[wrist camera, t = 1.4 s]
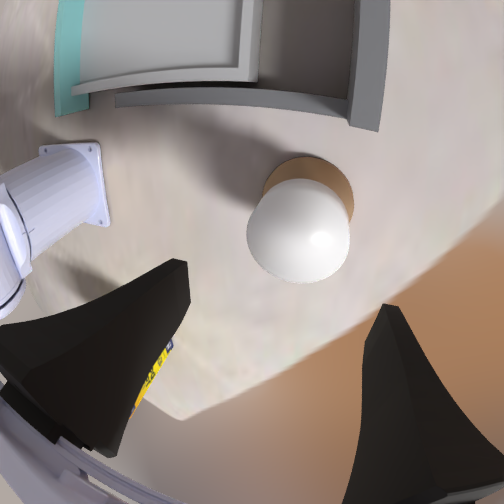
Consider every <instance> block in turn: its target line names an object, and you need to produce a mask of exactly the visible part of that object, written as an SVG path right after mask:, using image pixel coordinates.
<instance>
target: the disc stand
mask: <svg viewBox="0 0 504 504" xmlns="http://www.w3.org/2000/svg"><path fill="white" fill-rule="evenodd" d="M290 179H310V180H314V181H317V182H319V183H322V184H324V185H325V186H327V187H329V188H330V189H331V190H333V191H334V192H335V193H336V194H337V195H338V196H339V198H340V199H341V200H342V202H343V204H344V205H345V208H346V210H347V214H348V219H349V222H350V220H351V218H352V215H353V209H354V199H353V192H352V189H351V186H350V184H349V182H348V180H347V178H346V177H345V175H344V174H343V173H342V172H341V171H340V170H339V169H338V168H337V167H335V166H334V165H333V164H331V163H329V162H327V161H325V160H322V159H319V158H315V157H298V158H294V159H291V160H288V161H286V162H284V163H283V164H281V165H280V166H278V167H277V168H276V169H275V170H274V171H273V172H272V174H271V175H270V176H269V178H268V179H267V181H266V183H265V185H264V189H263V193H262V198H263V196H264V195H265V194H266V193H267V192H268V191H269V190H270V189H271V188H272V187H273V186H275V185H277V184H279V183H281V182H283V181H286V180H290Z"/></svg>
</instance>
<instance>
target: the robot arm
mask: <svg viewBox="0 0 504 504" xmlns="http://www.w3.org/2000/svg"><path fill="white" fill-rule="evenodd" d="M91 148H92V150H91ZM101 220H102V221H101ZM83 222H84V223H88V224H93V225H97V226H102V227H108V226H109V225H110V217H109V211H108V205H107V199H106V192H105V185H104V178H103V170H102V161H101V151H100V145H99V144H98V143H97V142H88V143H68V144H53V145H42V146H40V147H39V157H37V158H34V159H32V160H30V161H28V162H26V163H23V164H21V165H19V166H17V167H15V168H13V169H11V170H9V171H7V172H5V173H3V174H1V175H0V320H1V319H2V318H4V317H6V316H7V315H8V314H9V313H10V312H12V310H14V308H15V307H16V306H17V305H18V303H19V302H20V300H21V298H22V296H23V293H24V291H25V288H26V279H25V277H26V276H27V275H28V274H29V273H30V272H32V267H31V263H30V262H31V261H32V260H34V259H35V258H36V257H37V256H38V255H40V254H41V253H42V252H44V251H45V250H46V249H47V248H49V247H50V246H51V245H53V244H54V243H55V242H56V241H58V240H59V239H60V238H62V237H63V236H64V235H66V234H67V233H69V232H70V231H71V230H73V229H74V228H75V227H77V226H78V225H80V224H81V223H83ZM190 303H191V299H190V289H189V278H188V266H187V262H186V261H182V260H178V259H174V258H173V259H171V260H169V261H167V262H165V263H163V264H161V265H159V266H157V267H156V268H154V269H152V270H150V271H149V272H147V273H145V274H143V275H142V276H140V277H138V278H136V279H134V280H133V281H131V282H129V283H127V284H125V285H123V286H121V287H120V288H118V289H116V290H114V291H112V292H110V293H108V294H106V295H104V296H102V297H100V298H98V299H95V300H93V301H91V302H88V303H86V304H83V305H81V306H78V307H76V308H73V309H70V310H67V311H64V312H61V313H58V314H55V315H51V316H48V317H44V318H40V319H36V320H31V321H26V322H19V323H13V324H6V325H1V326H0V372H1V374H2V375H3V376H4V377H5V378H6V380H7V382H6V384H5V385H4V384H3V383H2V382H1V381H0V473H1V475H2V476H3V478H4V479H5V480H6V481H7V483H8V484H9V486H10V487H11V488H12V489H13V491H14V492H15V493H16V494H17V496H18V497H19V498H20V499H21V500H22V502H23V503H24V504H128V503H127V502H125V501H123V500H121V499H120V498H118V497H116V496H114V495H113V494H111V493H109V492H108V491H106V490H104V489H102V488H100V487H98V486H97V485H95V484H93V483H91V482H90V481H89V480H88V475H87V474H89V475H90V476H92V477H94V478H95V479H97V480H99V481H100V482H102V483H103V484H105V485H107V486H108V487H110V488H112V489H114V490H116V491H117V492H119V493H121V494H123V495H125V496H127V497H128V498H130V499H132V500H134V501H137V502H138V503H141V504H187V503H184V502H181V501H179V500H176V499H174V498H171V497H168V496H166V495H164V494H162V493H159V492H157V491H155V490H153V489H150V488H148V487H146V486H144V485H142V484H140V483H138V482H136V481H134V480H132V479H130V478H128V477H126V476H124V475H122V474H120V473H119V472H117V471H115V470H113V469H111V468H110V467H108V466H106V465H105V464H103V463H101V462H99V461H98V460H96V459H95V458H93V457H91V456H90V455H88V454H87V453H85V452H84V451H82V450H81V449H82V447H85V448H86V449H88V450H89V451H92V450H93V449H94V450H95V451H97V452H99V453H100V454H102V455H104V456H105V457H107V458H112V457H115V456H117V452H118V449H119V446H120V443H121V439H122V436H123V433H124V430H125V427H126V424H127V422H128V420H129V417H130V414H131V412H132V410H133V407H134V405H135V403H136V400H137V398H138V396H139V393H140V391H141V389H142V387H143V385H144V383H145V381H146V379H147V377H148V375H149V373H150V371H151V369H152V368H153V366H154V364H155V363H156V361H157V360H158V358H159V357H160V355H161V354H162V352H163V351H164V349H165V348H166V346H167V344H168V343H169V341H170V340H171V338H172V337H173V335H174V334H175V332H176V331H177V329H178V327H179V326H180V324H181V322H182V320H183V318H184V316H185V314H186V312H187V310H188V307H189V305H190ZM503 487H504V455H503V454H502V453H501V452H500V451H499V450H497V448H495V447H494V446H493V445H492V444H491V443H490V442H489V441H488V440H487V439H486V438H485V437H484V436H483V435H482V434H481V432H480V431H479V430H478V429H477V428H476V427H475V426H474V425H473V424H472V422H471V421H470V420H469V419H468V418H467V416H466V415H465V414H464V413H463V411H462V410H461V409H460V408H459V406H458V405H457V404H456V402H455V401H454V400H453V398H452V397H451V395H450V394H449V392H448V391H447V389H446V388H445V387H444V385H443V384H442V382H441V380H440V379H439V377H438V376H437V374H436V373H435V371H434V369H433V367H432V366H431V364H430V363H429V361H428V359H427V357H426V356H425V354H424V352H423V350H422V348H421V347H420V345H419V343H418V341H417V339H416V338H415V336H414V334H413V332H412V330H411V328H410V326H409V325H408V323H407V321H406V319H405V317H404V315H403V314H402V312H401V310H400V308H399V307H398V306H394V305H388V304H382V307H381V309H380V311H379V313H378V316H377V318H376V320H375V322H374V324H373V326H372V328H371V330H370V332H369V334H368V337H367V339H366V341H365V347H364V355H363V364H362V415H361V428H360V435H359V440H358V446H357V451H356V455H355V460H354V464H353V469H352V472H351V476H350V480H349V483H348V486H347V490H346V493H345V496H344V499H343V502H342V504H475V501H477V500H479V499H482V498H484V497H486V496H488V495H490V494H492V493H494V492H496V491H498V490H500V489H502V488H503Z"/></svg>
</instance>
